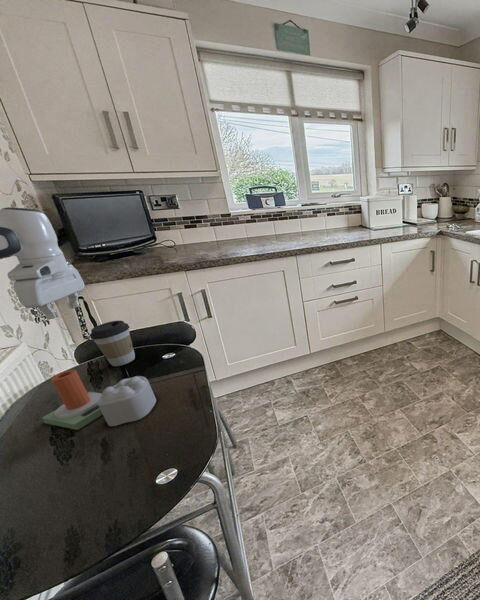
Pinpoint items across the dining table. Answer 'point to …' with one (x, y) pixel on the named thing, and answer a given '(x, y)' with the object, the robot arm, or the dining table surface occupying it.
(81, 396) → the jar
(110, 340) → the coffee cup
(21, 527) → the dining table surface
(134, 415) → the lumpy-topped squat cylinder
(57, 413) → the scale
